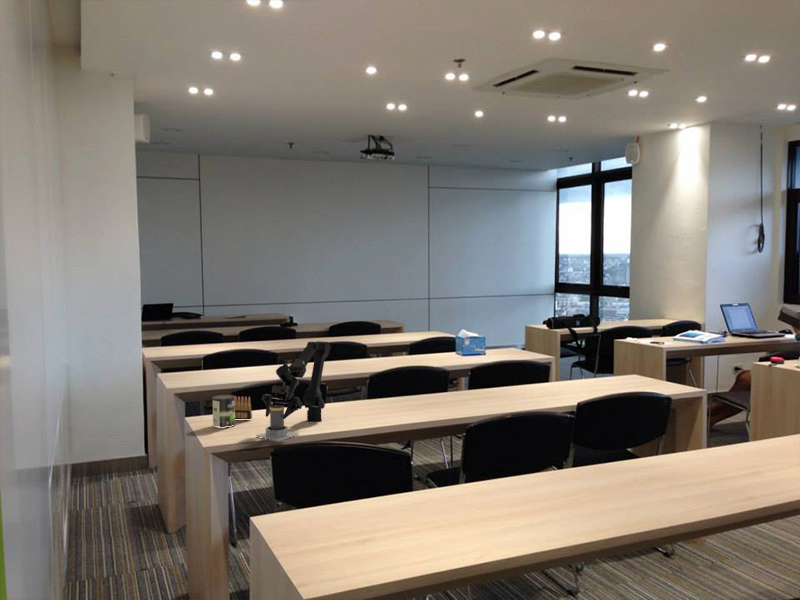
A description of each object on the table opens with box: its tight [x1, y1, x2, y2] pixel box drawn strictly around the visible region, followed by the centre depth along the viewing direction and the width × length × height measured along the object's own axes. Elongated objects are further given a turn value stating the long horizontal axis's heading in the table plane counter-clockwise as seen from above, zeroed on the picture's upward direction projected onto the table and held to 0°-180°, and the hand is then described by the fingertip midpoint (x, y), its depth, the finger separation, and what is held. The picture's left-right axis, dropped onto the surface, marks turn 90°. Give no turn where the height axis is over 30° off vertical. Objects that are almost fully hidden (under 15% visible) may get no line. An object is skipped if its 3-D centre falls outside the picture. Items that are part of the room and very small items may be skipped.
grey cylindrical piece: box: [269, 404, 285, 430], centre depth 297 cm, size 6×6×12 cm
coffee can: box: [211, 394, 236, 427], centre depth 316 cm, size 10×10×14 cm
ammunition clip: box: [234, 395, 253, 419], centre depth 328 cm, size 11×2×12 cm, turn 81°
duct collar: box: [255, 425, 299, 443], centre depth 297 cm, size 13×13×4 cm
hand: (274, 417), depth 295 cm, fingers open, 9 cm apart
